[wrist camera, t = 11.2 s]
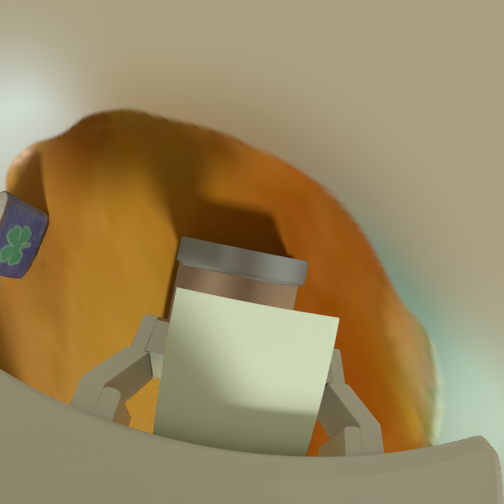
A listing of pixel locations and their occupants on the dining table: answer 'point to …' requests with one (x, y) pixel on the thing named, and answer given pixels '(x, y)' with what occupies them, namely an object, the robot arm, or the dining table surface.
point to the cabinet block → (243, 374)
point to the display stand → (238, 273)
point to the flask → (19, 235)
